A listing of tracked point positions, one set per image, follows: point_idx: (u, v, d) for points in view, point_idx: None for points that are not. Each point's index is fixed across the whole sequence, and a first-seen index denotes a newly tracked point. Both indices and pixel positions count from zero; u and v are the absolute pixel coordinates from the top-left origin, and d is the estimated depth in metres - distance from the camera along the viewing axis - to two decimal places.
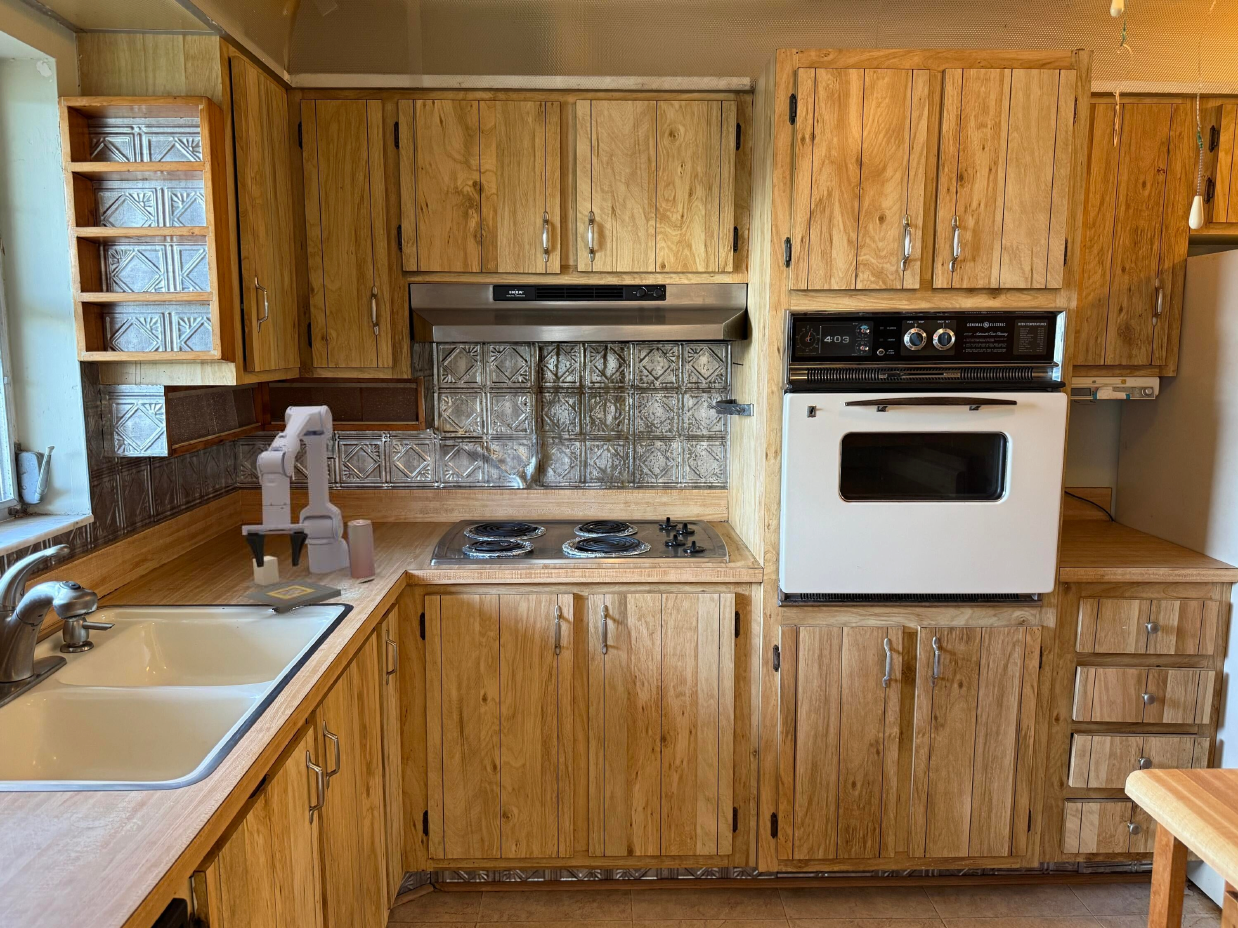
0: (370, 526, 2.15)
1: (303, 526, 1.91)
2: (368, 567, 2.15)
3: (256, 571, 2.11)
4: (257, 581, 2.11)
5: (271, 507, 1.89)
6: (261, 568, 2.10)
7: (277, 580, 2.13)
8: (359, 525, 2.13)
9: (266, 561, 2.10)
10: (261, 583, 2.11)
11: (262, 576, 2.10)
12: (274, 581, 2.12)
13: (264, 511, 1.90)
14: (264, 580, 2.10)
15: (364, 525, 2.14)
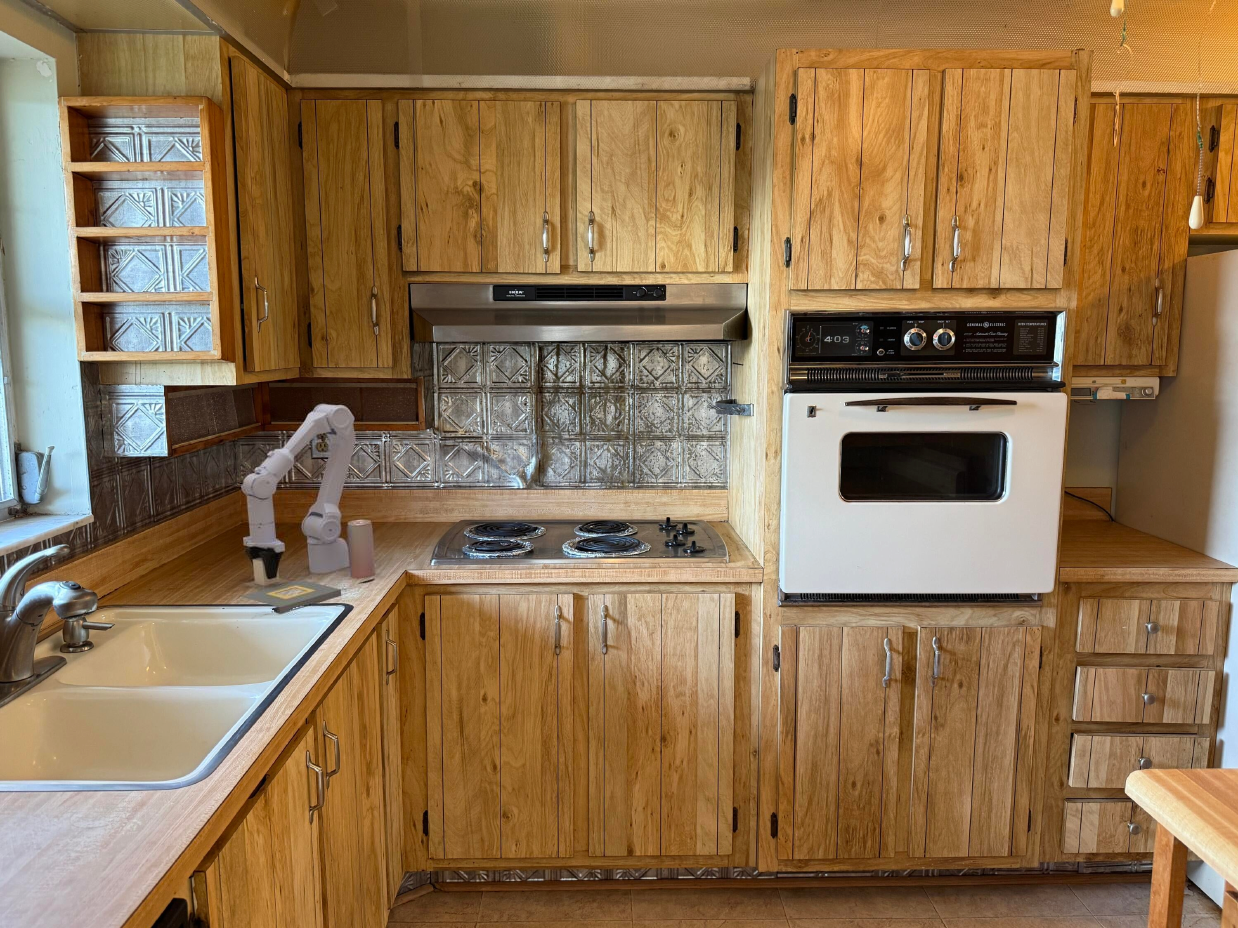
0: (370, 526, 2.15)
1: (274, 546, 2.07)
2: (368, 567, 2.15)
3: (256, 571, 2.11)
4: (257, 581, 2.11)
5: (251, 526, 2.08)
6: (261, 568, 2.10)
7: (277, 580, 2.13)
8: (359, 525, 2.13)
9: None
10: (261, 583, 2.11)
11: (262, 576, 2.10)
12: (274, 581, 2.12)
13: None
14: (264, 580, 2.10)
15: (364, 525, 2.14)
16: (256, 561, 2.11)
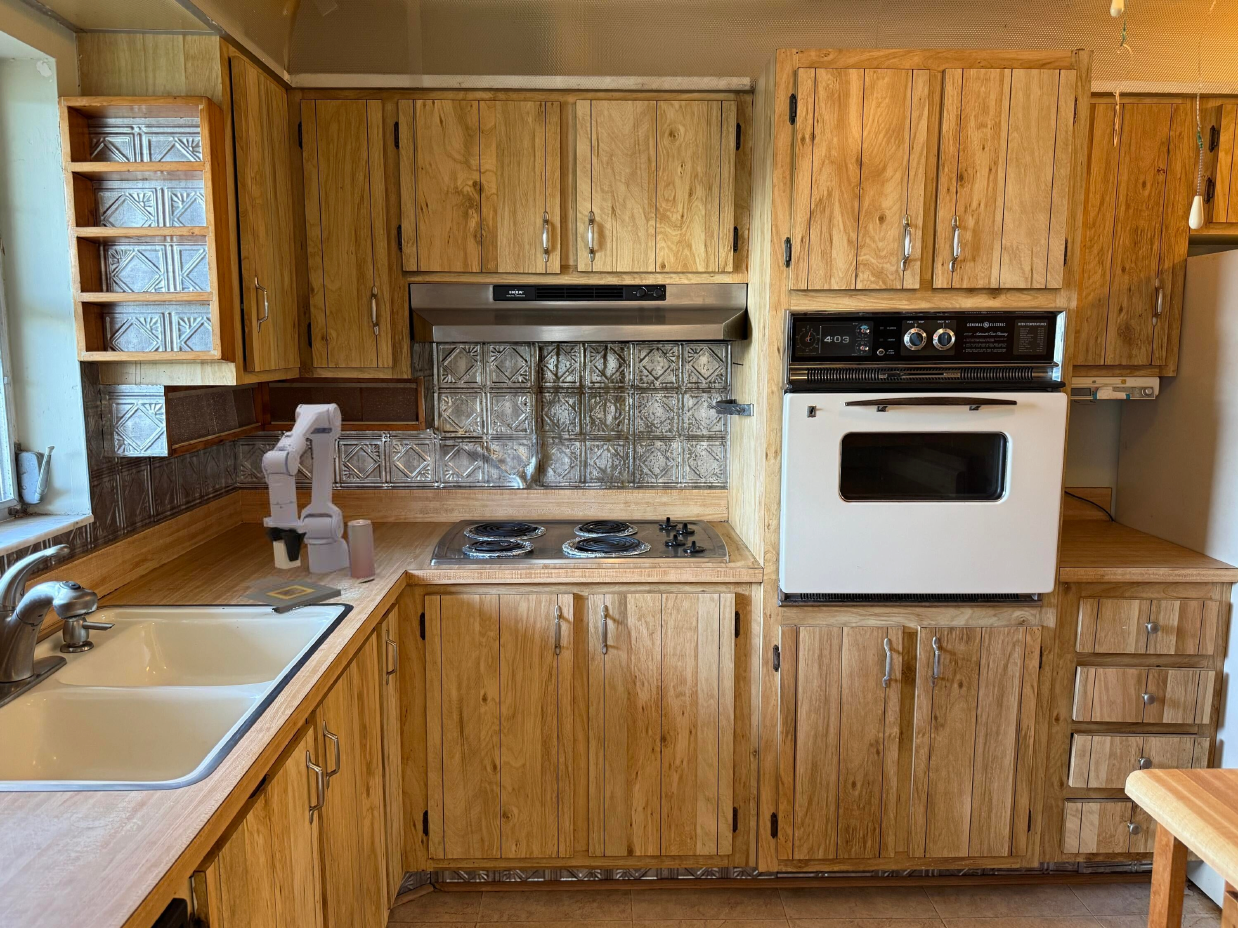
0: (370, 526, 2.15)
1: (296, 526, 1.97)
2: (368, 567, 2.15)
3: (276, 554, 2.01)
4: (278, 565, 2.01)
5: (272, 506, 1.98)
6: (282, 550, 1.99)
7: (298, 564, 2.03)
8: (359, 525, 2.13)
9: None
10: (282, 567, 2.00)
11: (283, 559, 2.00)
12: (295, 565, 2.02)
13: None
14: (285, 563, 2.00)
15: (364, 525, 2.14)
16: (277, 543, 2.00)
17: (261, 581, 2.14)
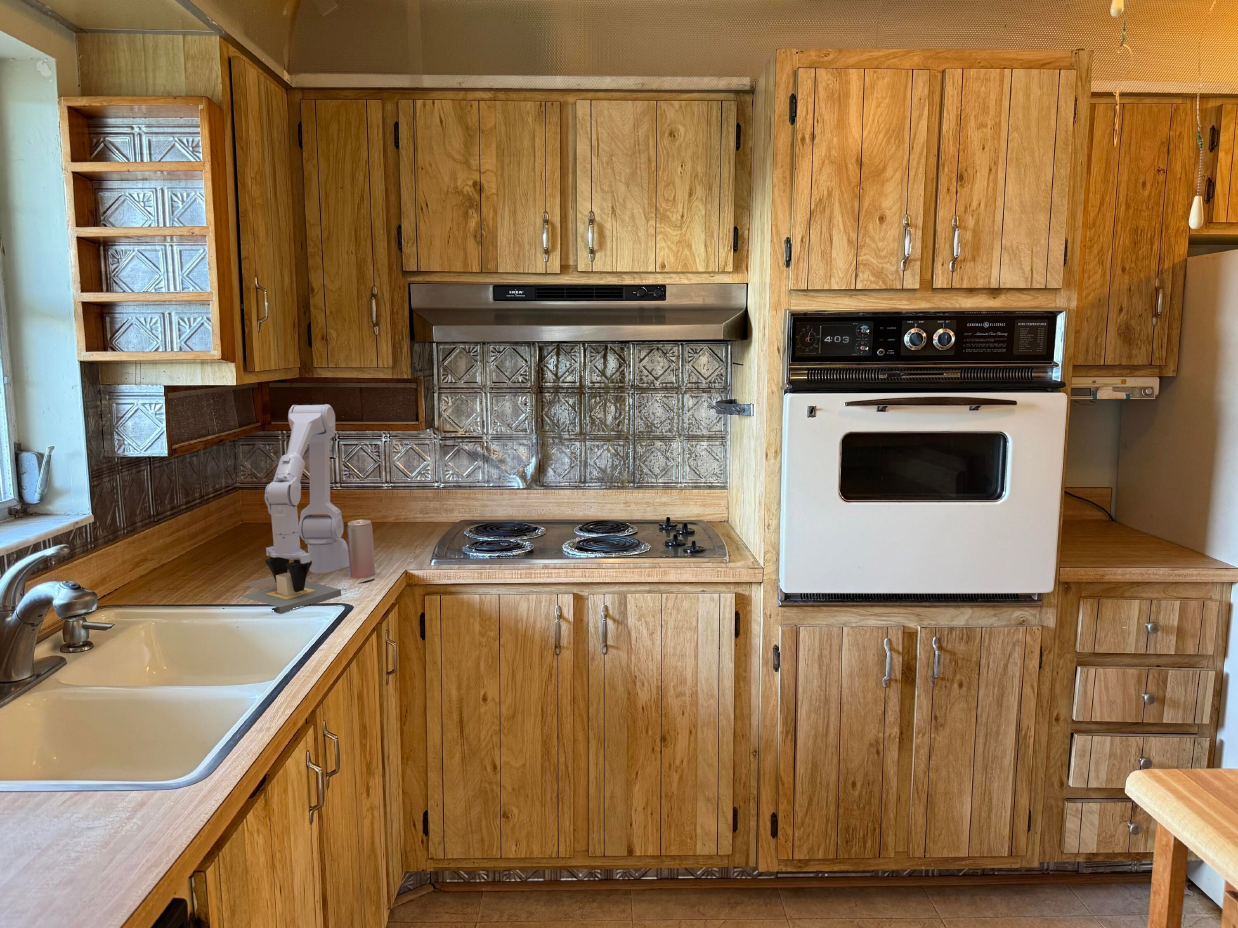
0: (370, 526, 2.15)
1: (299, 556, 1.98)
2: (368, 567, 2.15)
3: (279, 587, 2.02)
4: None
5: (274, 536, 1.99)
6: (285, 584, 2.01)
7: None
8: (359, 525, 2.13)
9: (290, 577, 2.01)
10: None
11: (286, 593, 2.01)
12: None
13: None
14: None
15: (364, 525, 2.14)
16: (279, 577, 2.02)
17: (261, 581, 2.14)
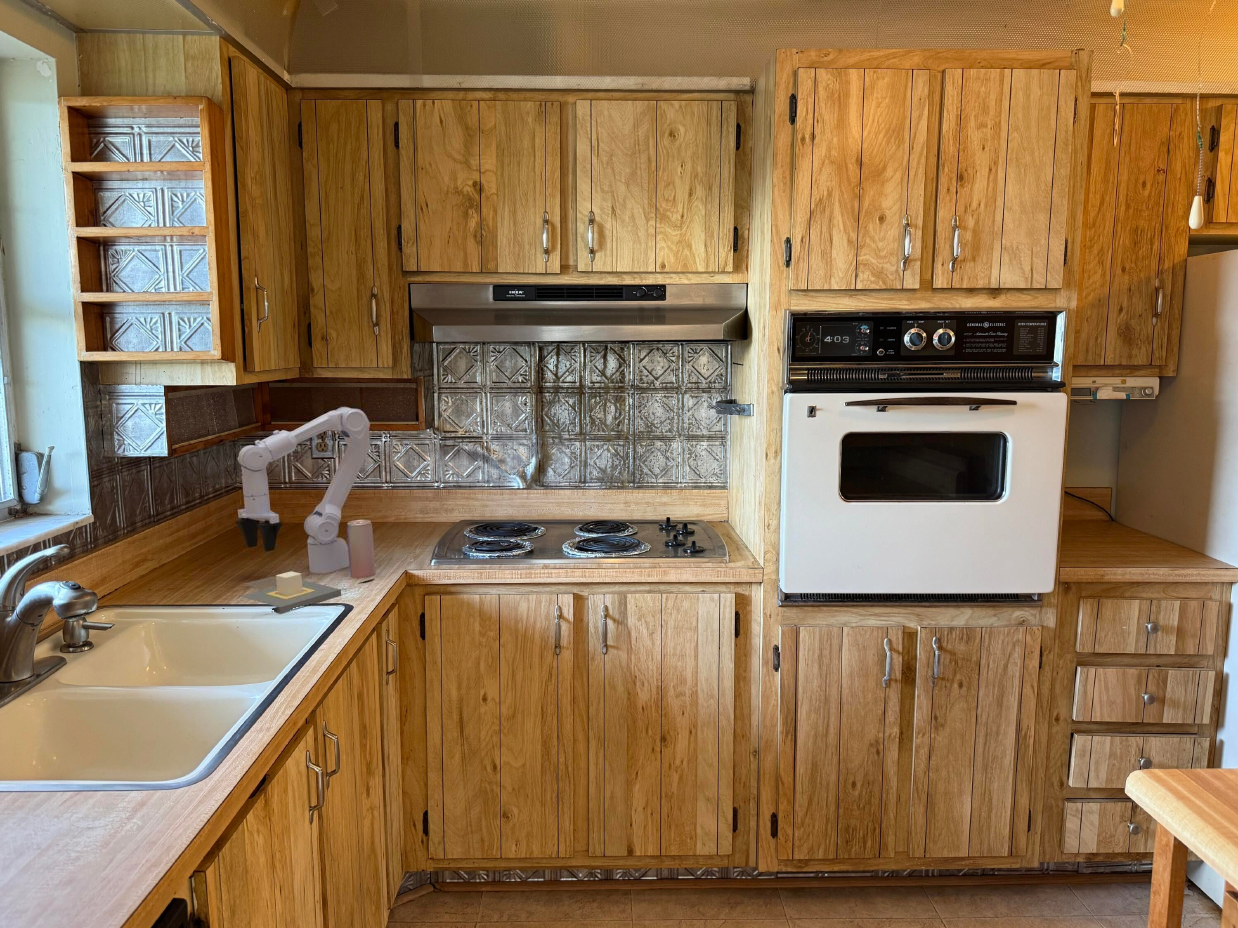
0: (370, 526, 2.15)
1: (268, 517, 2.08)
2: (368, 567, 2.15)
3: (279, 587, 2.02)
4: None
5: (245, 498, 2.10)
6: (285, 584, 2.01)
7: None
8: (359, 525, 2.13)
9: (290, 577, 2.01)
10: None
11: (286, 593, 2.01)
12: None
13: None
14: None
15: (364, 525, 2.14)
16: (279, 577, 2.02)
17: (261, 581, 2.14)
